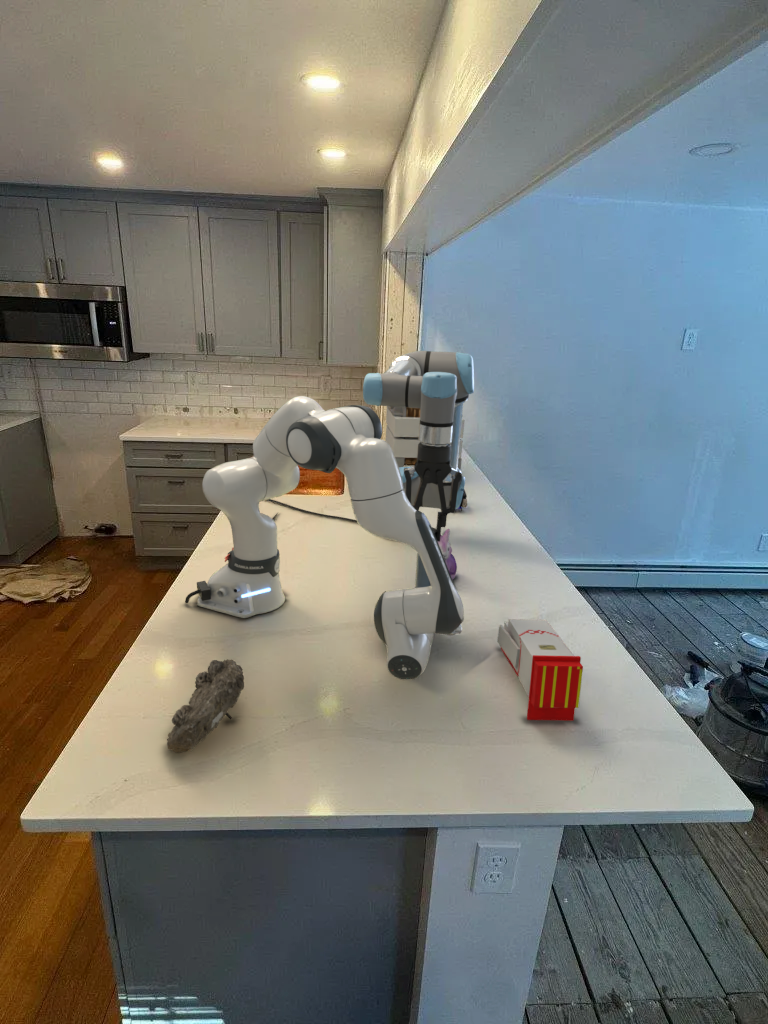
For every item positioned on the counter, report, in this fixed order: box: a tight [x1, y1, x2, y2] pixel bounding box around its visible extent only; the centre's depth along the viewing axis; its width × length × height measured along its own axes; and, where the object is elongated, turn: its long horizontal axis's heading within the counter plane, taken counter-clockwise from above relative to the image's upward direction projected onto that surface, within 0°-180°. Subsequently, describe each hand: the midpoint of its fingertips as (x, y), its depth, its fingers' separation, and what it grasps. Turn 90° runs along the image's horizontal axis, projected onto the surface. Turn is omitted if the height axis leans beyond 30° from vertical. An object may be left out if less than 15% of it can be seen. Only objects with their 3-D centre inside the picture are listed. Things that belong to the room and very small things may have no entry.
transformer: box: [384, 406, 465, 472], centre depth 268 cm, size 34×33×41 cm
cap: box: [431, 526, 437, 539], centre depth 135 cm, size 4×4×2 cm
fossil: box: [166, 658, 245, 754], centre depth 106 cm, size 22×10×15 cm
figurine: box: [438, 528, 458, 580], centre depth 166 cm, size 9×10×15 cm
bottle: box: [414, 551, 431, 588], centre depth 139 cm, size 5×5×25 cm
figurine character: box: [456, 489, 468, 512], centre depth 228 cm, size 7×8×15 cm
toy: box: [497, 618, 584, 722], centre depth 122 cm, size 12×13×30 cm
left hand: (423, 600), depth 142 cm, fingers closed on bottle, 4 cm apart
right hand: (427, 538), depth 136 cm, fingers closed on cap, 4 cm apart
